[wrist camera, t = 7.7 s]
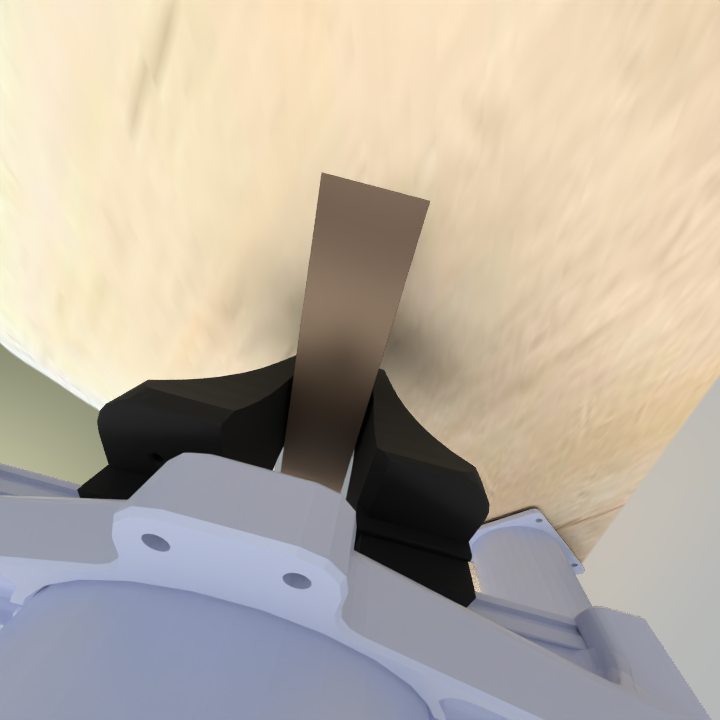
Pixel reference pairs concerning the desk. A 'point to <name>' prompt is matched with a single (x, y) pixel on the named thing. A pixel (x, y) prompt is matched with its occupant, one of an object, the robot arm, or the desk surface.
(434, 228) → the desk surface
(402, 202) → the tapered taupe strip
